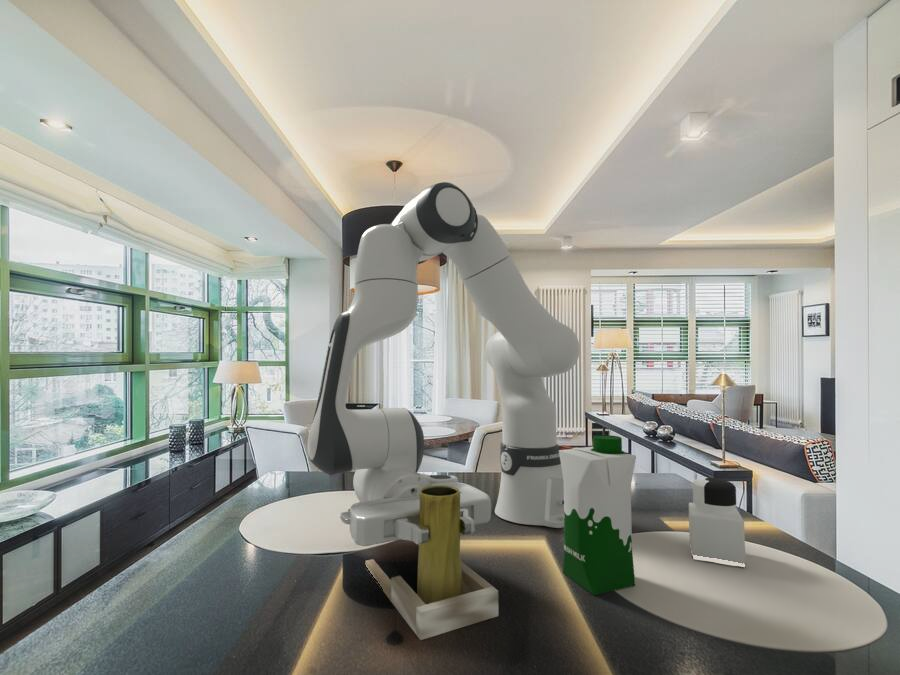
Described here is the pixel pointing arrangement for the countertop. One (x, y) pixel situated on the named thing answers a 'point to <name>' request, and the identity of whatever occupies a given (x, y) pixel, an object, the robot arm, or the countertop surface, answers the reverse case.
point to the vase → (440, 545)
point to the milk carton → (598, 515)
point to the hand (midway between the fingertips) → (447, 532)
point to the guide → (440, 603)
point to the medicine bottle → (716, 521)
